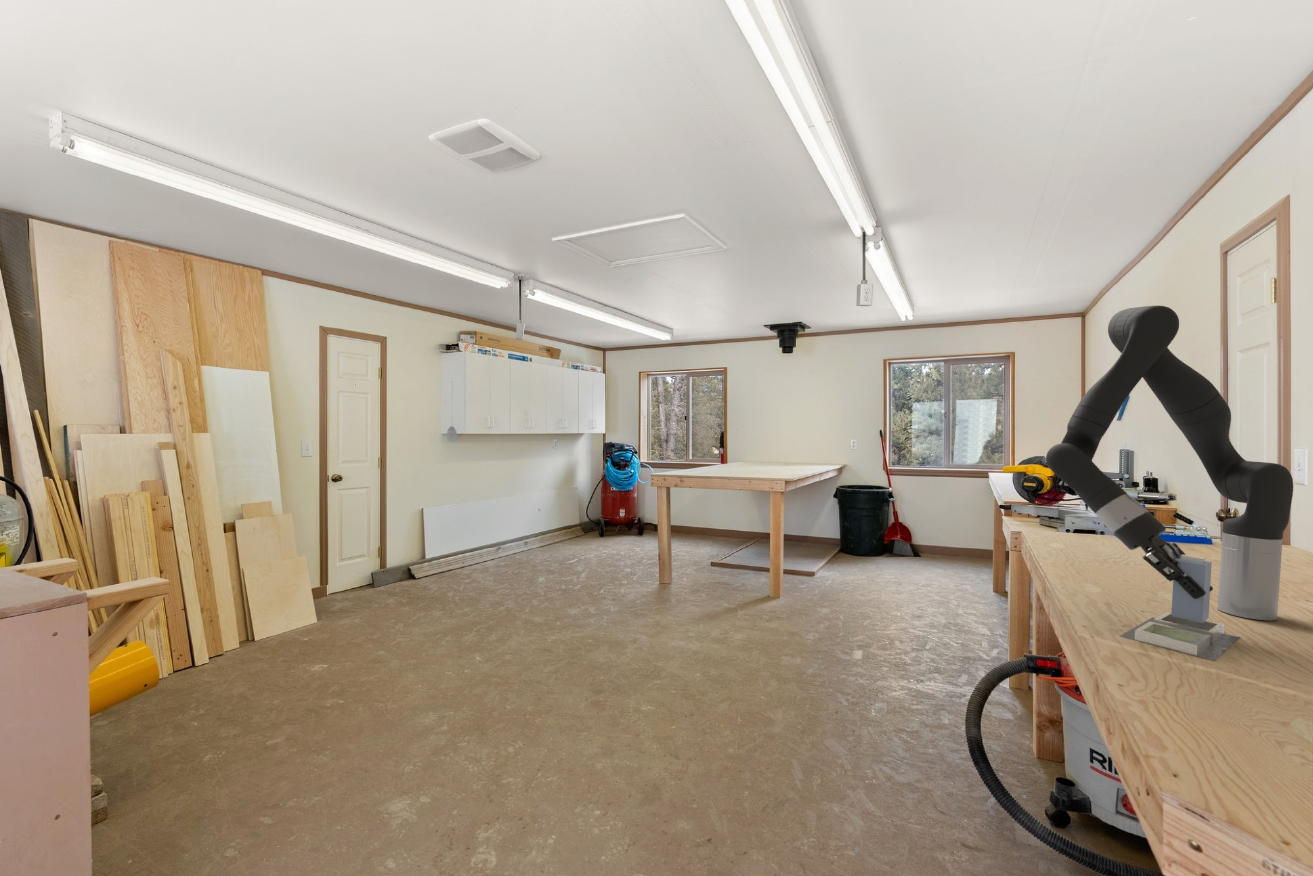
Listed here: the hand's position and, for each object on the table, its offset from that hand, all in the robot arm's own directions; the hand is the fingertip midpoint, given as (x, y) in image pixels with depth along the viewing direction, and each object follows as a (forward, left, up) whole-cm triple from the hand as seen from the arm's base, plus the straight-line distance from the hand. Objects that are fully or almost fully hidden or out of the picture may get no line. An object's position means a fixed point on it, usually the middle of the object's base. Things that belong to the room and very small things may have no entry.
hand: (1204, 594), depth 112 cm
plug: (0, -2, -5) cm, 5 cm away
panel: (+6, -2, -8) cm, 10 cm away
